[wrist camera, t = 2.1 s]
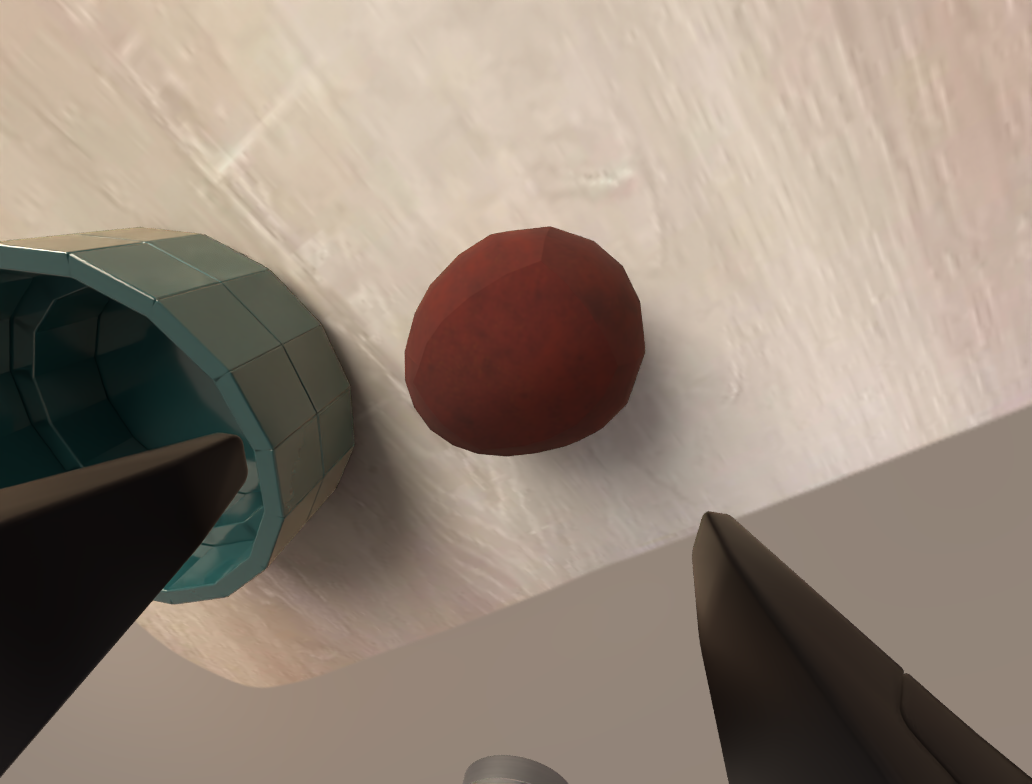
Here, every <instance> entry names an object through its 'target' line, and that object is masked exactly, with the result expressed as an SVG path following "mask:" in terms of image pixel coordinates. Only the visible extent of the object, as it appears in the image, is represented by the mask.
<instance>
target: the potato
mask: <svg viewBox="0 0 1032 784" xmlns="http://www.w3.org/2000/svg"><path fill="white" fill-rule="evenodd" d="M644 354H645V341H644V332H643V323H642V315H641V306H640V301H639V299H638V296H637V294H636V292H635V290H634V288H633V286H632V284H631V282H630V280H629V278H628V276H627V274H626V272H625V270H624V268H623V266H622V265H621V264H620V263H619V262H617V261H616V260H615V259H614V258H613V257H612V256H611V255H609V254H608V253H607V252H606V251H605V250H604V249H602V248H601V247H600V246H599V245H598V244H597V243H595V242H594V241H592V240H589V239H586V238H583V237H580V236H577V235H574V234H571V233H568V232H565V231H562V230H559V229H556V228H553V227H541V228H533V229H524V230H515V231H507V232H502V233H496V234H491V235H489V236H487V237H486V238H484V239H483V240H481V241H480V242H478V243H476V244H475V245H473V246H472V247H470V248H469V249H467V250H465V251H464V252H462V253H461V254H459V255H458V256H457V257H456V258H455V259H454V261H453V262H452V263H451V264H450V265H449V266H448V267H447V268H446V269H445V270H444V271H443V272H442V273H441V274H440V275H439V276H438V277H437V278H436V279H435V280H434V282H433V283H432V284H431V285H430V286H429V288H428V290H427V292H426V294H425V296H424V297H423V299H422V301H421V303H420V305H419V307H418V308H417V310H416V312H415V314H414V318H413V322H412V326H411V330H410V333H409V337H408V341H407V345H406V349H405V381H406V384H407V387H408V390H409V393H410V396H411V399H412V402H413V405H414V408H415V409H416V410H417V412H418V413H419V415H420V416H421V417H422V419H423V420H424V422H425V423H426V424H427V426H428V427H429V428H430V430H432V431H433V432H435V433H436V434H437V435H439V436H440V437H442V438H443V439H445V440H446V441H448V442H449V443H450V444H452V445H454V446H456V447H459V448H462V449H465V450H468V451H471V452H474V453H477V454H486V455H497V456H514V455H524V454H534V453H539V452H543V451H547V450H551V449H556V448H560V447H564V446H567V445H570V444H572V443H575V442H577V441H579V440H581V439H583V438H585V437H587V436H589V435H591V434H593V433H595V432H597V431H598V430H600V429H602V428H603V427H604V426H605V425H606V424H607V423H608V422H609V421H610V420H611V419H612V418H613V417H614V416H615V415H617V414H618V413H619V412H620V411H621V410H622V409H623V408H624V407H625V406H626V405H627V403H628V400H629V397H630V394H631V391H632V388H633V386H634V383H635V380H636V377H637V374H638V371H639V368H640V365H641V363H642V360H643V357H644Z"/></svg>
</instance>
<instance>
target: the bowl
mask: <svg viewBox="0 0 1032 784" xmlns="http://www.w3.org/2000/svg"><path fill="white" fill-rule="evenodd" d="M213 433H227V434H233V435H237V436H239V437H240V438H241V439H242V441H243V445H244V451H245V456H246V462H247V467H248V475H247V479H246V481H245V483H244V484H243V486H242V487H241V489H240V490H239V491H238V493H237V494H236V496H235V497H234V498H233V500H232V501H231V503H230V504H229V505H228V507H227V508H226V510H225V511H224V512H223V514H222V515H221V517H220V518H219V520H218V521H217V522H216V524H215V525H214V527H213V528H212V529H211V531H210V532H209V534H208V535H207V536H206V538H205V539H204V540H203V542H202V543H201V544H200V546H199V547H198V548H197V549H196V551H195V552H194V553H193V554H192V555H191V557H190V558H189V559H188V560H187V561H186V562H185V564H184V565H183V566H182V567H181V568H180V569H179V570H178V572H177V573H176V574H175V575H174V576H173V577H172V579H171V580H170V581H169V582H168V583H167V584H166V586H165V587H164V588H163V589H162V590H161V591H160V593H159V594H158V595H157V596H156V597H155V598H154V601H158V602H163V603H168V604H182V603H190V602H197V601H204V600H212V599H219V598H225V597H229V596H230V595H231V594H233V593H234V592H236V591H237V590H238V589H240V588H241V587H242V586H244V585H245V584H246V583H248V582H249V581H251V580H252V579H253V578H255V577H256V576H257V575H259V574H260V573H262V572H263V571H264V570H266V569H267V568H268V566H269V565H270V564H271V563H272V562H273V561H274V560H275V558H276V557H277V556H278V555H279V554H280V553H281V551H282V550H283V549H284V548H285V547H286V546H287V544H288V543H289V542H290V541H291V540H292V539H293V538H294V536H295V535H296V534H297V533H298V532H299V531H300V529H301V528H302V527H303V526H304V525H305V523H306V522H307V521H308V520H309V519H310V518H311V517H312V516H313V514H314V513H315V512H316V511H317V510H318V509H319V507H320V506H321V505H322V504H323V503H324V502H325V500H326V499H327V498H328V497H329V496H330V495H331V494H332V492H333V491H334V490H335V489H336V488H337V486H338V484H339V481H340V479H341V476H342V474H343V471H344V469H345V467H346V464H347V462H348V459H349V457H350V454H351V452H352V450H353V447H354V445H355V444H354V430H353V416H352V402H351V388H350V384H349V382H348V379H347V377H346V375H345V373H344V371H343V369H342V367H341V365H340V362H339V360H338V358H337V356H336V354H335V352H334V350H333V348H332V345H331V343H330V341H329V339H328V337H327V335H326V333H325V331H324V328H323V326H322V325H321V323H320V322H319V321H318V320H317V319H316V318H315V317H314V316H313V315H312V314H311V313H310V312H309V311H308V309H307V308H306V307H305V306H304V305H303V304H302V303H301V302H300V301H299V300H298V299H297V298H296V297H295V296H294V295H293V294H292V293H291V291H290V290H289V289H288V288H287V287H286V286H285V285H284V284H283V283H282V282H281V281H280V280H279V279H278V278H277V277H276V276H275V275H274V273H273V272H272V271H271V270H269V269H268V268H266V267H264V266H263V265H261V264H259V263H257V262H255V261H253V260H251V259H250V258H248V257H246V256H244V255H242V254H240V253H238V252H237V251H235V250H233V249H231V248H229V247H227V246H225V245H224V244H222V243H220V242H218V241H216V240H214V239H212V238H211V237H209V236H207V235H203V234H199V233H190V232H181V231H171V230H162V229H153V228H144V227H135V228H125V229H115V230H105V231H95V232H86V233H76V234H66V235H56V236H46V237H36V238H27V239H17V240H7V241H0V489H2V488H6V487H10V486H14V485H18V484H22V483H25V482H29V481H33V480H37V479H41V478H45V477H48V476H52V475H56V474H60V473H64V472H68V471H71V470H75V469H79V468H83V467H87V466H91V465H94V464H98V463H102V462H106V461H110V460H114V459H118V458H121V457H125V456H129V455H133V454H137V453H141V452H144V451H148V450H152V449H156V448H160V447H164V446H167V445H171V444H175V443H179V442H183V441H187V440H190V439H194V438H198V437H202V436H206V435H210V434H213Z"/></svg>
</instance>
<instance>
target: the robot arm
mask: <svg viewBox="0 0 1032 784" xmlns="http://www.w3.org/2000/svg"><path fill="white" fill-rule="evenodd" d="M247 475H248V467H247V462H246V456H245V451H244V445H243V441H242V439H241V438H240V437H239V436H237V435H233V434H227V433H213V434H210V435H206V436H202V437H198V438H194V439H190V440H187V441H183V442H179V443H175V444H171V445H167V446H164V447H160V448H156V449H152V450H148V451H144V452H141V453H137V454H133V455H129V456H125V457H121V458H118V459H114V460H110V461H106V462H102V463H98V464H94V465H91V466H87V467H83V468H79V469H75V470H71V471H68V472H64V473H60V474H56V475H52V476H48V477H45V478H41V479H37V480H33V481H29V482H25V483H22V484H18V485H14V486H10V487H6V488H2V489H0V777H1V776H2V775H3V774H4V773H5V772H6V770H7V769H8V768H9V767H10V765H12V763H13V762H14V761H15V760H16V759H17V758H18V756H19V755H20V754H21V753H22V752H23V751H24V750H25V748H26V747H27V746H28V745H29V744H30V742H31V741H32V740H33V739H34V738H35V737H36V736H37V734H38V733H39V732H40V731H41V730H42V729H43V727H44V726H45V725H46V724H47V723H48V722H49V720H50V719H51V718H52V717H53V716H54V715H55V713H56V712H57V711H58V710H59V709H60V708H61V707H62V705H63V704H64V703H65V702H66V701H67V699H68V698H69V697H70V696H71V695H72V694H73V693H74V691H75V690H76V689H77V688H78V687H79V685H80V684H81V683H82V682H83V681H84V680H85V679H86V677H87V676H88V675H89V674H90V672H91V671H92V670H93V669H94V668H95V667H96V666H97V665H98V663H99V662H100V661H101V660H102V659H103V658H104V656H105V655H106V654H107V653H108V652H109V651H110V650H111V648H112V647H113V646H114V645H115V644H116V643H117V641H118V640H119V639H120V638H121V637H122V636H123V634H124V633H125V632H126V631H127V630H128V629H129V627H130V626H131V625H132V624H133V623H134V622H135V620H136V619H137V618H138V617H139V616H140V615H141V614H142V612H143V611H144V610H145V609H146V608H147V607H148V605H149V604H150V603H151V602H152V601H153V600H154V598H155V597H156V596H157V595H158V594H159V593H160V591H161V590H162V589H163V588H164V587H165V586H166V584H167V583H168V582H169V581H170V580H171V579H172V577H173V576H174V575H175V574H176V573H177V572H178V570H179V569H180V568H181V567H182V566H183V565H184V564H185V562H186V561H187V560H188V559H189V558H190V557H191V555H192V554H193V553H194V552H195V551H196V549H197V548H198V547H199V546H200V544H201V543H202V542H203V540H204V539H205V538H206V536H207V535H208V534H209V532H210V531H211V529H212V528H213V527H214V525H215V524H216V522H217V521H218V520H219V518H220V517H221V515H222V514H223V512H224V511H225V510H226V508H227V507H228V505H229V504H230V503H231V501H232V500H233V498H234V497H235V496H236V494H237V493H238V491H239V490H240V489H241V487H242V486H243V484H244V483H245V481H246V479H247ZM692 562H693V563H692V564H693V575H694V586H695V597H696V609H697V619H698V630H699V639H700V646H701V651H702V656H703V661H704V666H705V671H706V676H707V680H708V685H709V690H710V694H711V700H712V705H713V709H714V714H715V719H716V724H717V729H718V733H719V738H720V742H721V747H722V753H723V757H724V762H725V767H726V772H727V777H728V781H729V784H1032V778H1031V777H1030V776H1028V775H1027V774H1026V773H1025V772H1023V771H1022V770H1021V769H1020V768H1019V767H1017V766H1016V765H1015V764H1014V763H1012V762H1011V761H1010V760H1009V759H1008V758H1006V757H1005V756H1004V755H1003V754H1001V753H1000V752H999V751H998V750H997V749H995V748H994V747H993V746H992V745H990V744H989V743H988V742H987V741H986V740H984V739H983V738H982V737H980V736H979V735H978V734H977V733H976V732H975V731H974V730H973V729H971V728H970V727H969V726H968V725H967V724H966V723H964V722H963V721H962V720H961V719H960V718H959V717H957V716H956V715H955V714H954V713H953V712H952V711H950V710H949V709H948V708H947V707H946V706H945V705H943V704H942V703H941V702H940V701H939V700H938V699H937V698H935V697H934V696H933V695H932V694H931V693H930V692H929V691H928V690H926V689H925V688H924V687H923V686H922V685H921V684H920V683H919V682H917V681H916V680H915V679H914V678H913V677H912V676H911V675H909V674H907V673H906V674H904V671H903V669H902V668H901V667H900V666H899V665H898V664H897V663H896V662H894V660H892V659H891V658H890V657H889V656H888V655H887V654H886V653H885V652H883V651H882V650H881V649H880V648H879V647H878V646H877V645H875V644H874V643H873V642H872V641H871V640H870V639H869V638H868V637H867V636H865V635H864V634H863V633H862V632H861V631H860V630H859V629H858V628H857V627H855V626H854V625H853V624H852V623H851V622H850V621H849V620H848V619H846V618H845V617H844V616H843V615H842V614H841V613H840V612H838V611H837V610H836V609H835V608H834V607H833V606H832V605H831V604H829V603H828V602H827V601H826V600H825V599H824V598H823V597H822V596H820V595H819V594H818V593H817V592H816V591H815V590H814V589H813V588H811V587H810V586H809V585H808V584H807V583H806V582H805V581H804V580H803V579H801V578H800V577H799V576H798V575H797V574H796V573H795V572H794V571H792V570H791V569H790V568H789V567H788V566H787V565H786V564H785V563H783V562H782V561H781V560H780V559H779V558H778V557H777V556H776V555H774V554H773V553H772V552H771V551H770V550H769V549H767V547H765V546H764V545H763V544H762V543H761V542H760V541H759V540H758V539H756V538H755V537H754V536H753V535H752V534H751V533H750V532H749V531H747V530H746V529H745V528H744V527H743V526H742V525H741V524H739V523H738V522H737V521H736V520H735V519H734V518H733V517H731V516H730V515H728V514H723V513H716V512H710V511H708V512H706V513H704V515H703V516H702V519H701V522H700V526H699V529H698V533H697V536H696V539H695V543H694V546H693V552H692Z"/></svg>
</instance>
